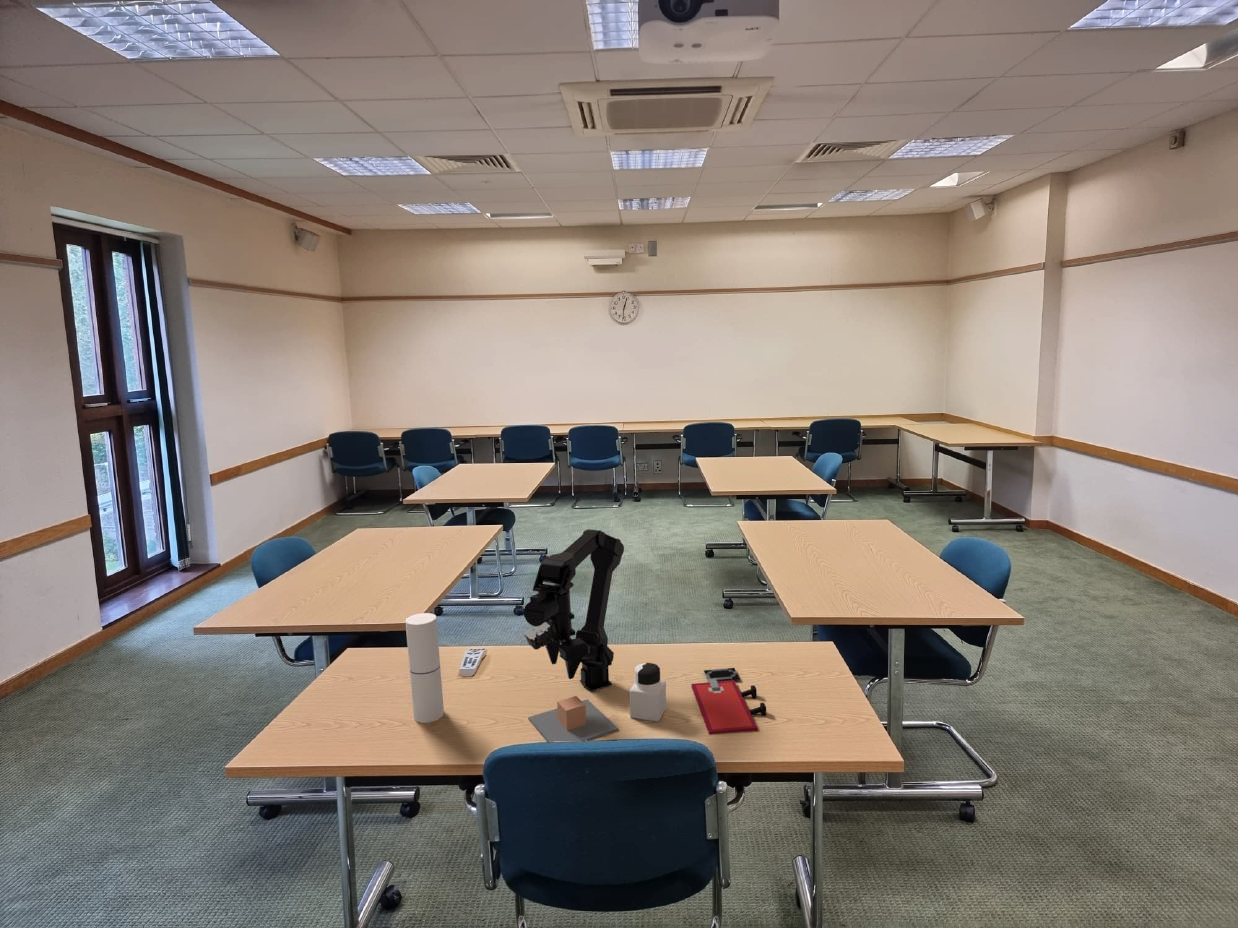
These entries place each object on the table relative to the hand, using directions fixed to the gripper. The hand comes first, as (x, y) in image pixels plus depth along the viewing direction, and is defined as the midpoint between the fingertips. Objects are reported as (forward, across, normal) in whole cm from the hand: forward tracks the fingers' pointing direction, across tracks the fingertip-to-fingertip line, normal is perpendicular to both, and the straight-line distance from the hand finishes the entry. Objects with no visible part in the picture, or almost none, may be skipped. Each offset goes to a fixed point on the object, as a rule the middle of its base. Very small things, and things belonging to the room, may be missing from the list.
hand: (562, 670), depth 170 cm
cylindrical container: (+11, -18, -28) cm, 35 cm away
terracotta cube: (+10, +6, -1) cm, 12 cm away
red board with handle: (+12, +18, +36) cm, 42 cm away
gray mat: (+11, +6, -1) cm, 12 cm away
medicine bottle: (+11, +12, +17) cm, 23 cm away
